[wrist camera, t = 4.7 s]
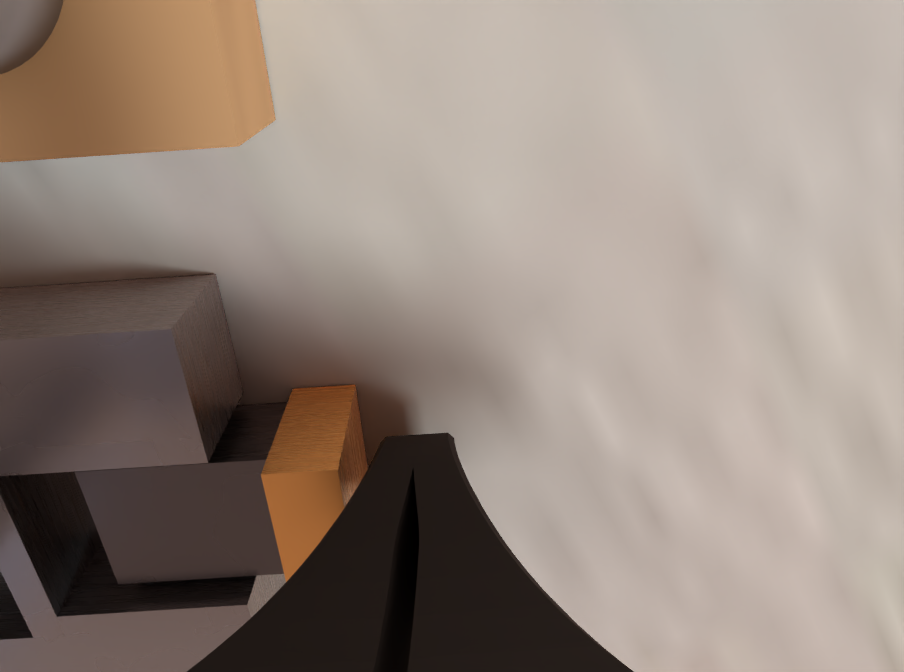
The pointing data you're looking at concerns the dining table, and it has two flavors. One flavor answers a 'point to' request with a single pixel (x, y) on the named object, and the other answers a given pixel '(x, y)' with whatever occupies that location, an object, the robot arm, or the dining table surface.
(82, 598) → the socket block
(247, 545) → the drift key
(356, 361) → the dining table surface
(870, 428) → the dining table surface
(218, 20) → the frame
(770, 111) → the dining table surface
